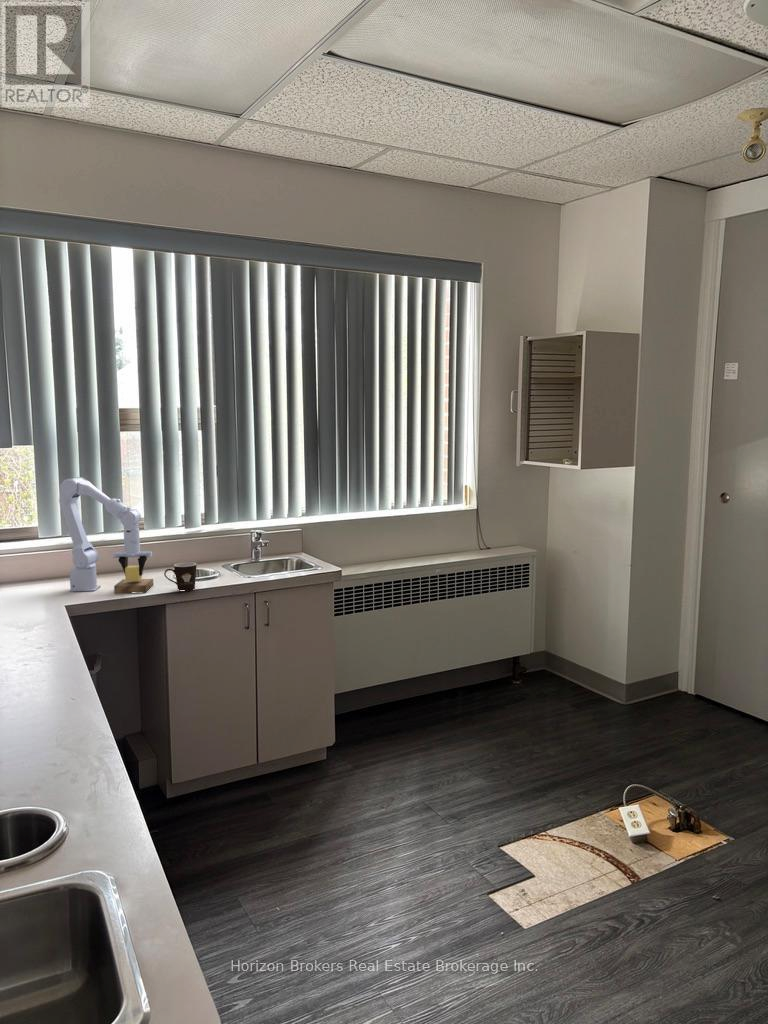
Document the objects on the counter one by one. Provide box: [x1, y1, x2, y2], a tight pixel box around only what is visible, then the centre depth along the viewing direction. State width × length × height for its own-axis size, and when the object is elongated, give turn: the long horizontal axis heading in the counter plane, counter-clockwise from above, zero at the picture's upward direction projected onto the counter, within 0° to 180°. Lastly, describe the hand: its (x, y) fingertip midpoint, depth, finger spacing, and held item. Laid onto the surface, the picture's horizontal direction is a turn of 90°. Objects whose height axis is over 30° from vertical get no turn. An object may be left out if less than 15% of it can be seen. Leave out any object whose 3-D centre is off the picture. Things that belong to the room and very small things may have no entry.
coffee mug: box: [163, 562, 198, 592], centre depth 301 cm, size 12×9×10 cm
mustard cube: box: [124, 565, 143, 581], centre depth 302 cm, size 5×5×5 cm
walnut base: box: [113, 578, 154, 594], centre depth 302 cm, size 12×12×3 cm
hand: (133, 575), depth 302 cm, fingers closed on mustard cube, 5 cm apart
